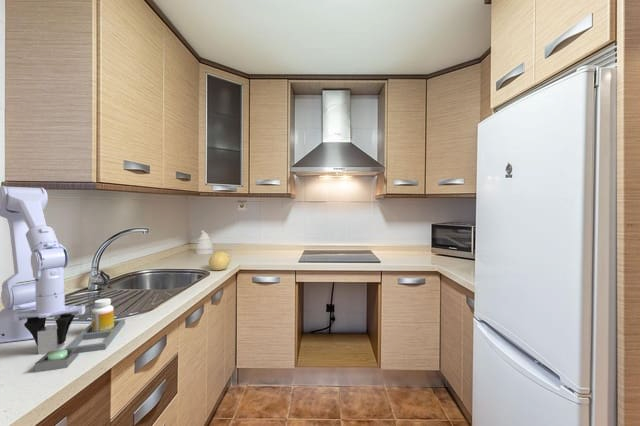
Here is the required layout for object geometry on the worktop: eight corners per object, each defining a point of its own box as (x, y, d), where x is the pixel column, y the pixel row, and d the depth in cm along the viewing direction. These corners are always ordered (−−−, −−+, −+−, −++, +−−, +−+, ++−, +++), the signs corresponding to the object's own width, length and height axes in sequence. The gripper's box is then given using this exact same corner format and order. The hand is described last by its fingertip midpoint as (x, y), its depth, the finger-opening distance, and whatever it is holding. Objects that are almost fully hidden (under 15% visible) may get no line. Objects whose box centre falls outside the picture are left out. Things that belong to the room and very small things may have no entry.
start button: (44, 366, 70) (44, 357, 70) (52, 358, 73) (52, 350, 73) (63, 363, 71) (63, 355, 71) (70, 356, 74) (70, 348, 74)
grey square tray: (35, 372, 68) (35, 363, 68) (49, 359, 74) (48, 351, 74) (67, 367, 70) (66, 359, 70) (78, 355, 76) (78, 347, 76)
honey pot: (192, 253, 235) (192, 231, 234) (203, 251, 247) (203, 229, 246) (205, 254, 231) (205, 231, 230) (216, 252, 243) (216, 230, 242)
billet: (38, 354, 76) (37, 331, 76) (46, 347, 80) (45, 325, 80) (57, 351, 78) (56, 329, 77) (64, 345, 81) (64, 323, 81)
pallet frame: (64, 354, 76) (64, 349, 76) (91, 327, 93) (91, 322, 93) (105, 349, 79) (105, 343, 79) (124, 323, 96) (124, 319, 96)
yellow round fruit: (233, 268, 181) (233, 250, 181) (220, 272, 170) (220, 253, 169) (218, 266, 185) (218, 249, 184) (204, 270, 173) (204, 252, 173)
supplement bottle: (118, 327, 93) (117, 297, 93) (106, 335, 87) (105, 303, 87) (100, 328, 93) (100, 297, 92) (87, 335, 87) (87, 303, 87)
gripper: (4, 300, 72) (6, 355, 73) (76, 294, 77) (77, 346, 77) (22, 292, 79) (23, 342, 79) (87, 287, 84) (88, 334, 84)
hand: (51, 343), depth 79 cm, fingers closed on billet, 4 cm apart
